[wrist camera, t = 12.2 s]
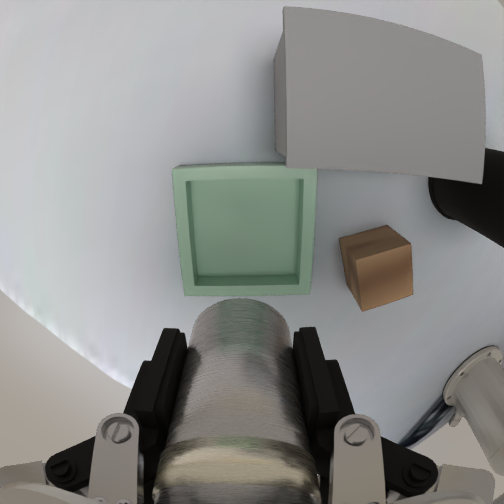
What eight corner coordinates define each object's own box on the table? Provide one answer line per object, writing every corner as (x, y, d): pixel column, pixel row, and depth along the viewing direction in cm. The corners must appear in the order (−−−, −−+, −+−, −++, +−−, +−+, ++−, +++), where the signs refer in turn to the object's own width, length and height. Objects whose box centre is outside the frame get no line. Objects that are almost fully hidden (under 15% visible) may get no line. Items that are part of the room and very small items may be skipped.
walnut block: (391, 270, 28) (412, 294, 23) (346, 284, 29) (362, 311, 24) (386, 224, 26) (411, 243, 22) (338, 238, 27) (355, 260, 22)
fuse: (288, 373, 13) (312, 557, 5) (196, 374, 13) (168, 555, 5) (295, 295, 11) (349, 532, 3) (183, 296, 11) (115, 525, 3)
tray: (305, 280, 28) (309, 294, 26) (189, 282, 28) (184, 295, 26) (310, 163, 24) (317, 166, 22) (179, 165, 24) (172, 169, 22)
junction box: (422, 163, 24) (498, 186, 14) (271, 154, 24) (286, 168, 14) (423, 76, 21) (498, 62, 11) (270, 55, 21) (283, 5, 11)
